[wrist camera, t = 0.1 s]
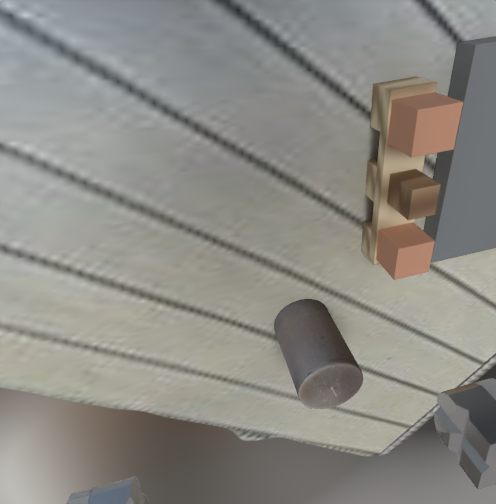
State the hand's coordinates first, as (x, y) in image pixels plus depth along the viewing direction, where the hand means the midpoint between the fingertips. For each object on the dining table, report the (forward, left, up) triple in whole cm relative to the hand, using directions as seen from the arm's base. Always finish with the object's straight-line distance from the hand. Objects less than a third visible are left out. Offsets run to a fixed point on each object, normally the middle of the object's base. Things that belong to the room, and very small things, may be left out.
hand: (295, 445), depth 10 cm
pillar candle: (+37, +12, -39) cm, 55 cm away
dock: (+13, +40, -39) cm, 57 cm away
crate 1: (+4, +25, -35) cm, 43 cm away
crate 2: (+21, +25, -35) cm, 48 cm away
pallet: (+13, +25, -39) cm, 48 cm away
